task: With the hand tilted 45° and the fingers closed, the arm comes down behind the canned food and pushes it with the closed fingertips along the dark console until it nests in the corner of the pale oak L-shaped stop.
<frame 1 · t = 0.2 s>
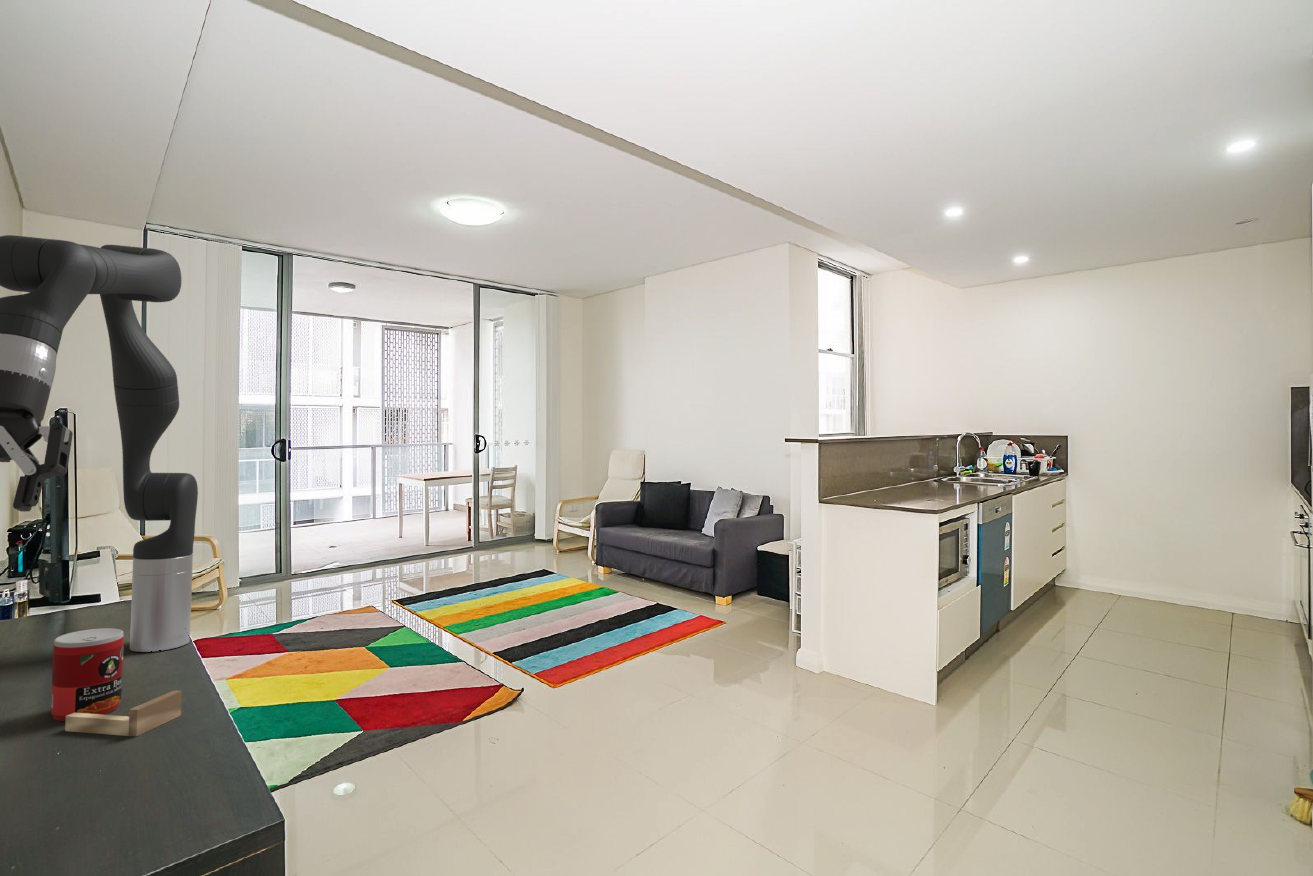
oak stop: (133, 714, 93), on the table
canned food: (86, 712, 94), on the table
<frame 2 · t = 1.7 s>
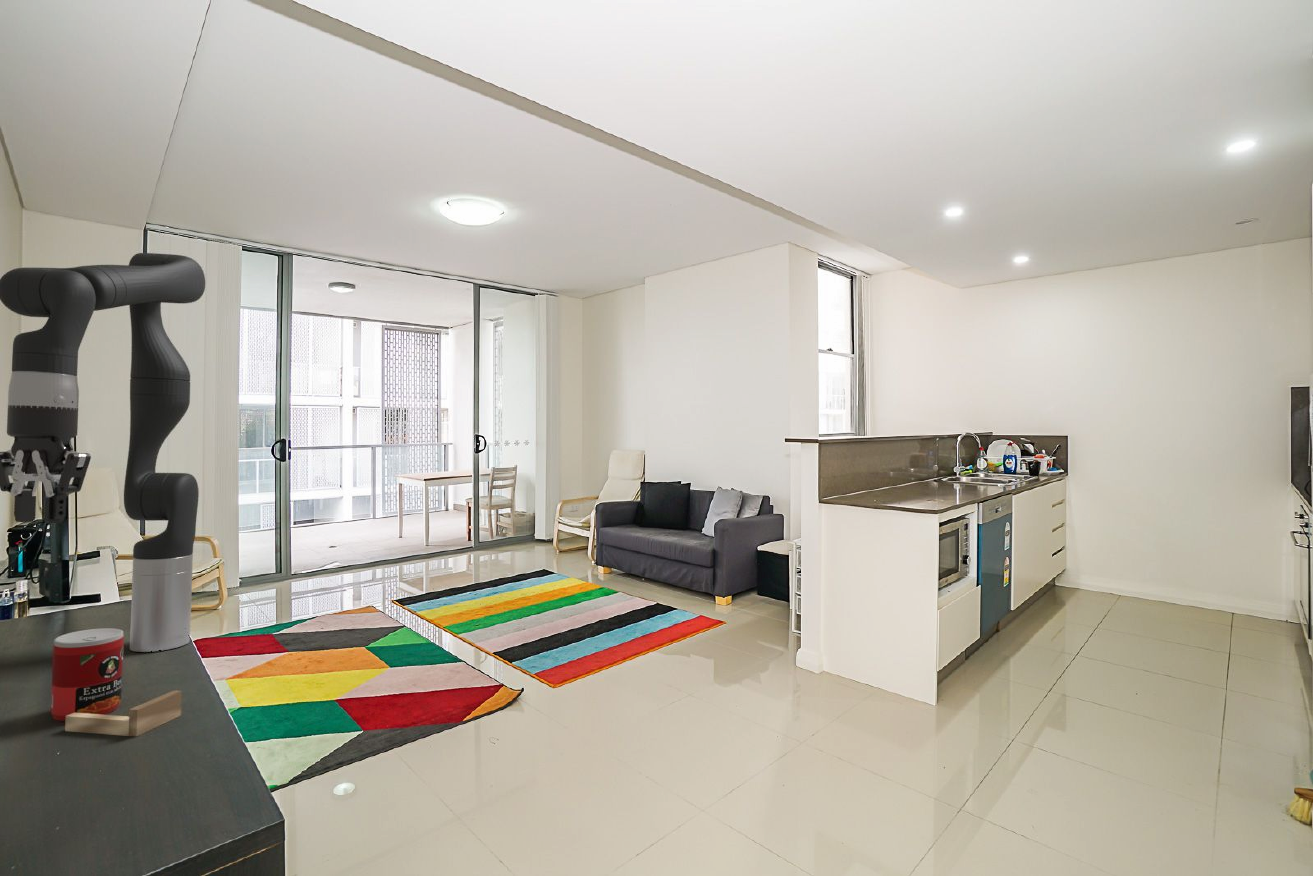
hand: (39, 521, 95), 27 cm above the table, tool pointing down, fingers open, 4 cm apart
nothing on the table moved.
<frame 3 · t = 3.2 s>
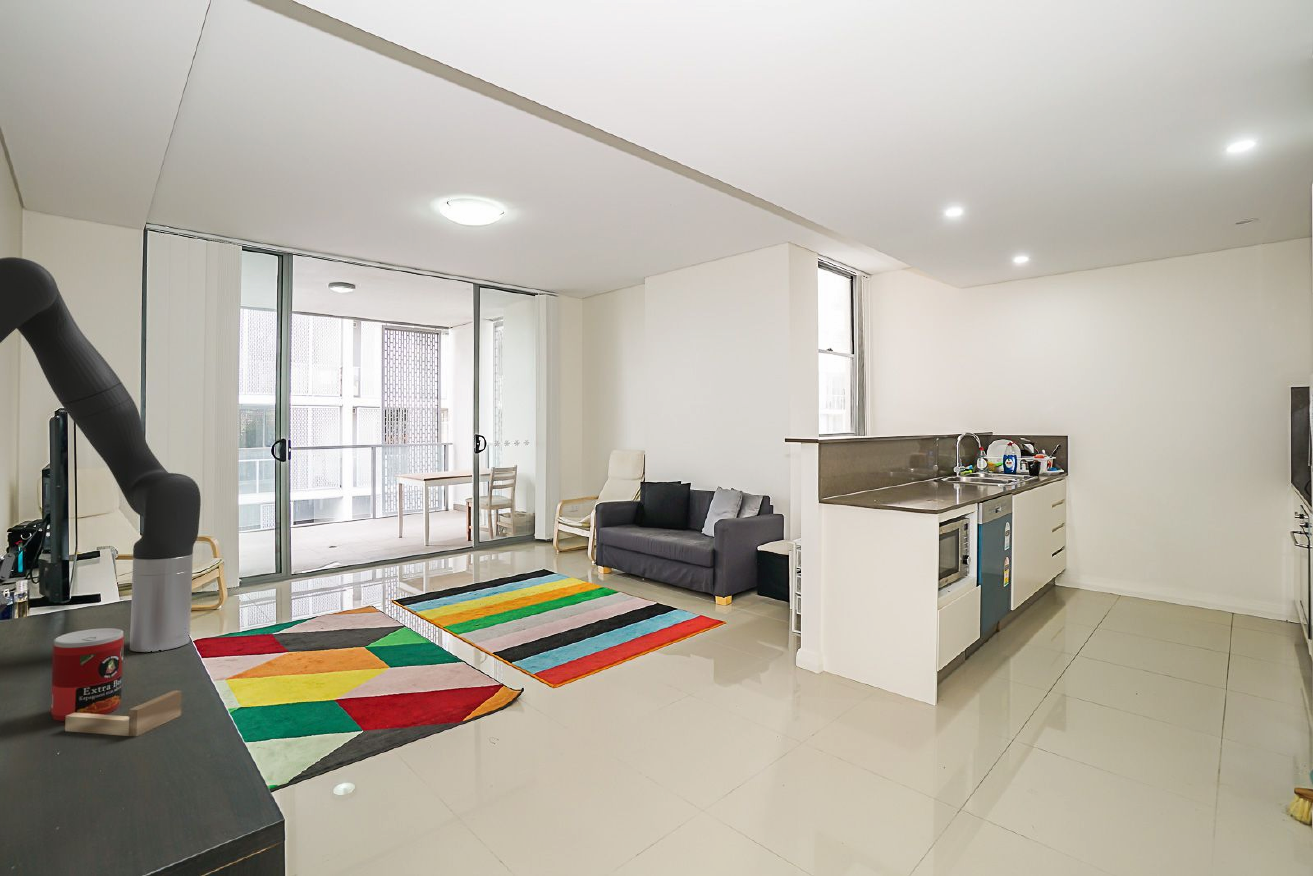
nothing on the table moved.
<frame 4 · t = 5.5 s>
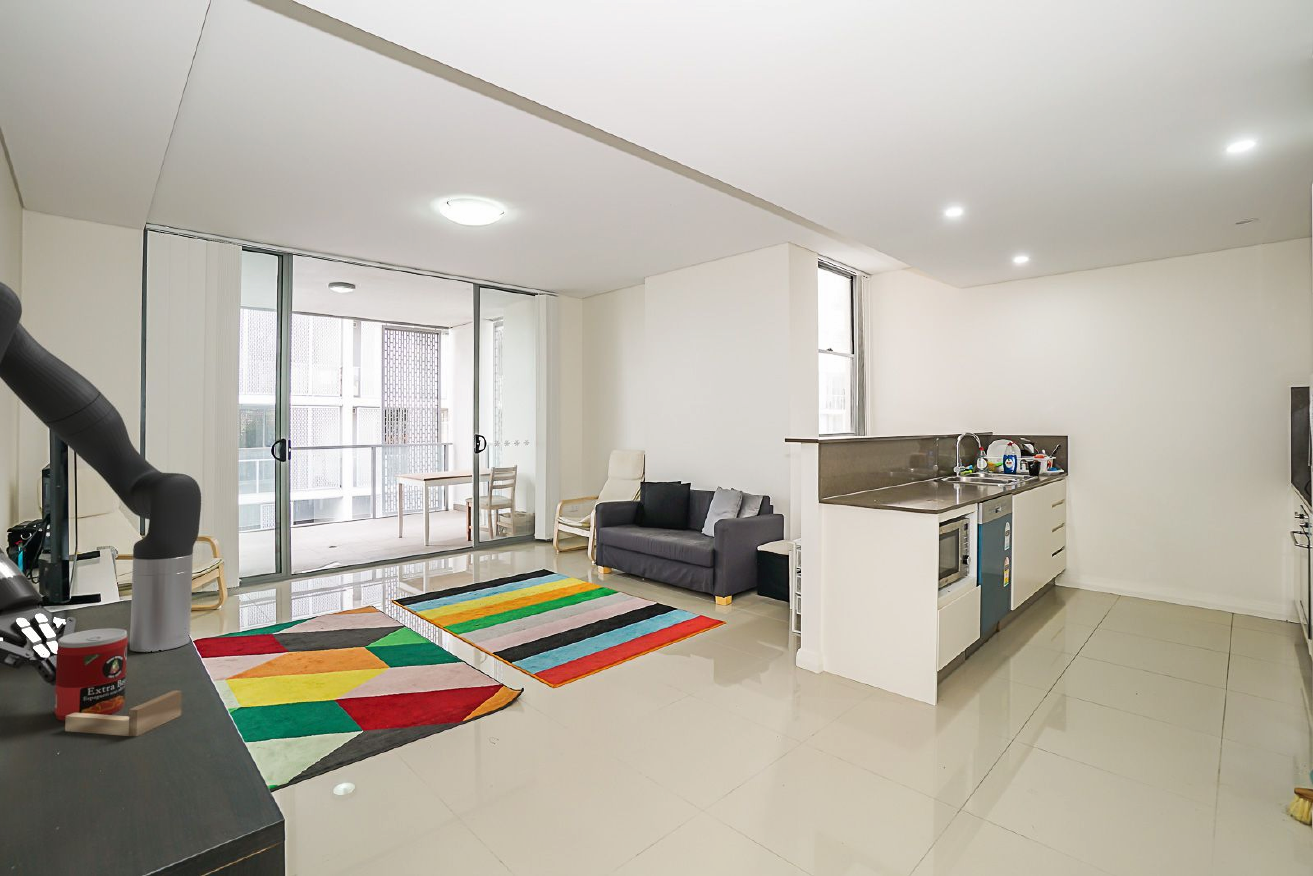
hand: (62, 680, 94), 4 cm above the table, tool tilted 45°, fingers closed
canned food: (90, 713, 94), on the table, touching gripper
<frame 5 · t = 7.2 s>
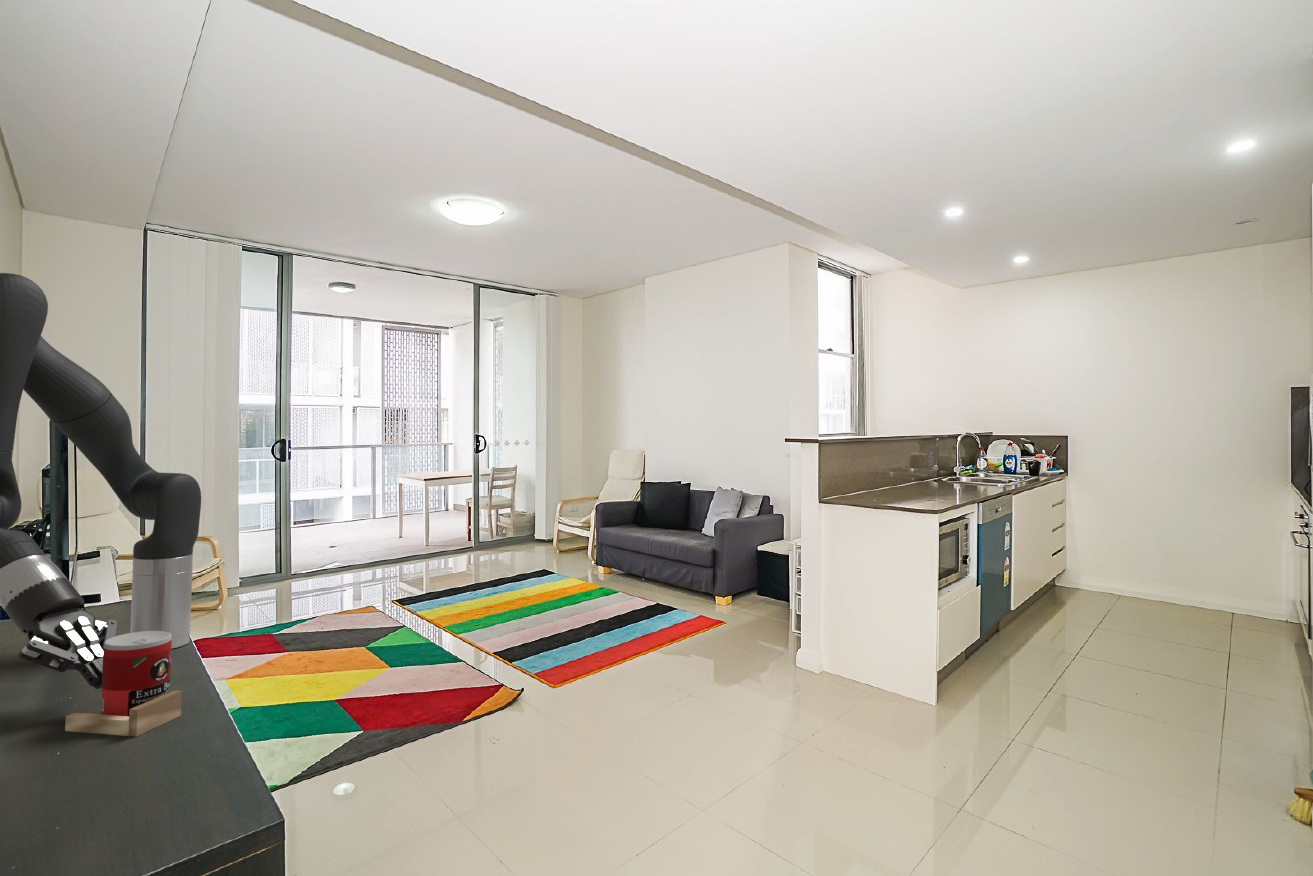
hand: (106, 683, 93), 4 cm above the table, tool tilted 45°, fingers closed
canned food: (135, 716, 93), on the table, touching gripper
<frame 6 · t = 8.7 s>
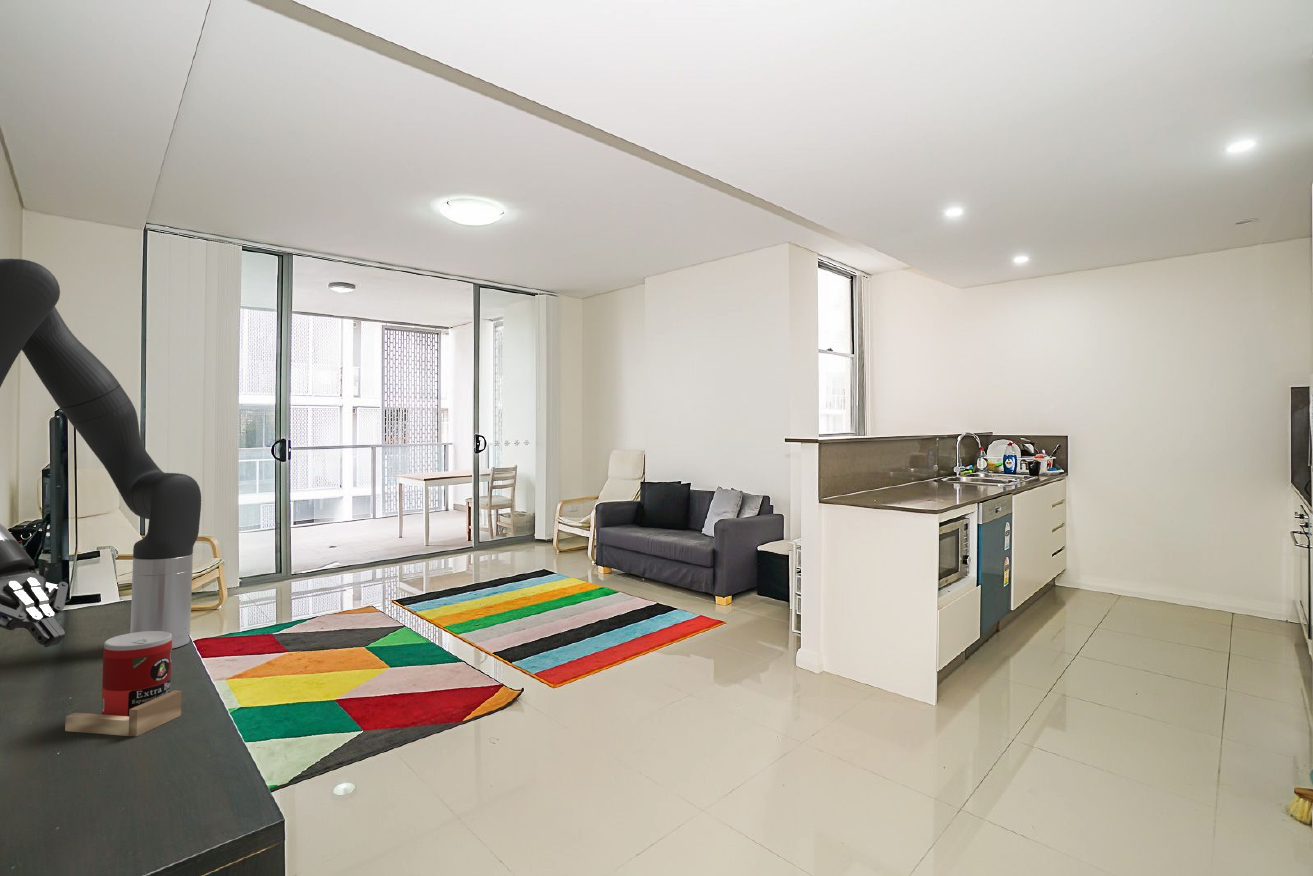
hand: (56, 642, 95), 10 cm above the table, tool tilted 45°, fingers closed
canned food: (136, 716, 93), on the table
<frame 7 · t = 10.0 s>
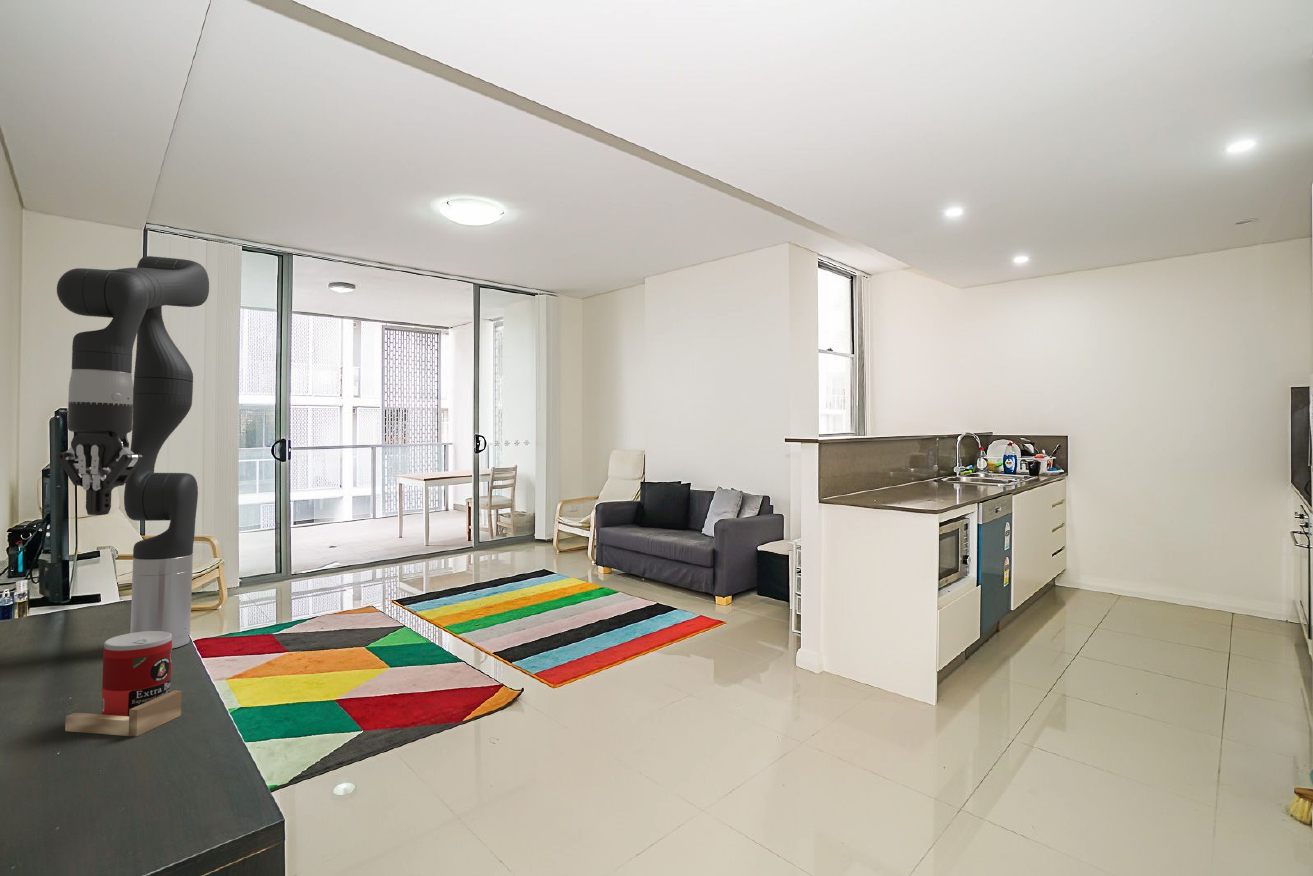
hand: (98, 514, 99), 28 cm above the table, tool pointing down, fingers closed
nothing on the table moved.
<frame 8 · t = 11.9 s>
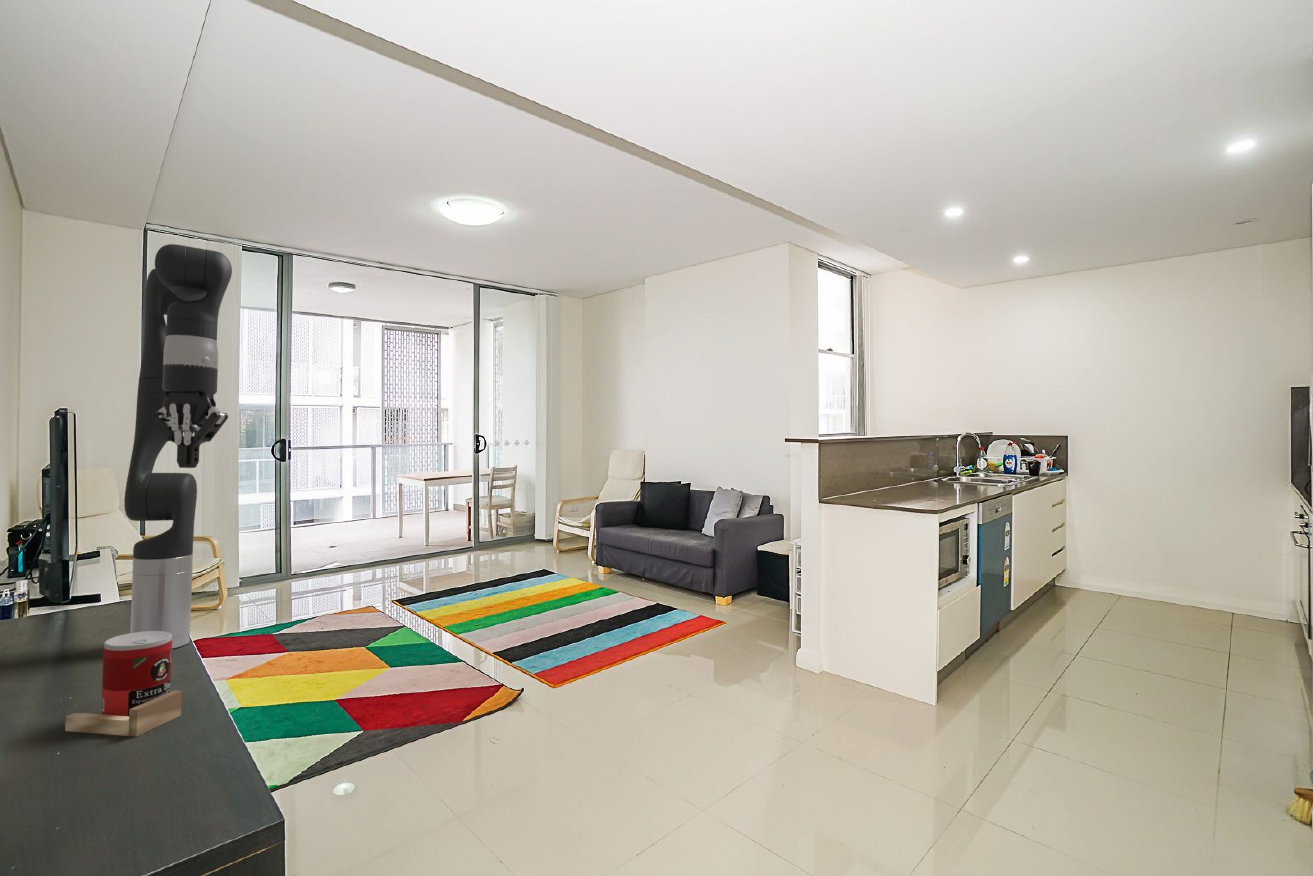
hand: (187, 467, 109), 35 cm above the table, tool pointing down, fingers closed
nothing on the table moved.
at the end: canned food 0.8 cm off-centre on the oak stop, point 0.0 cm above the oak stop's base; canned food tilted 0°; canned food moved 7.9 cm from its start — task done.
